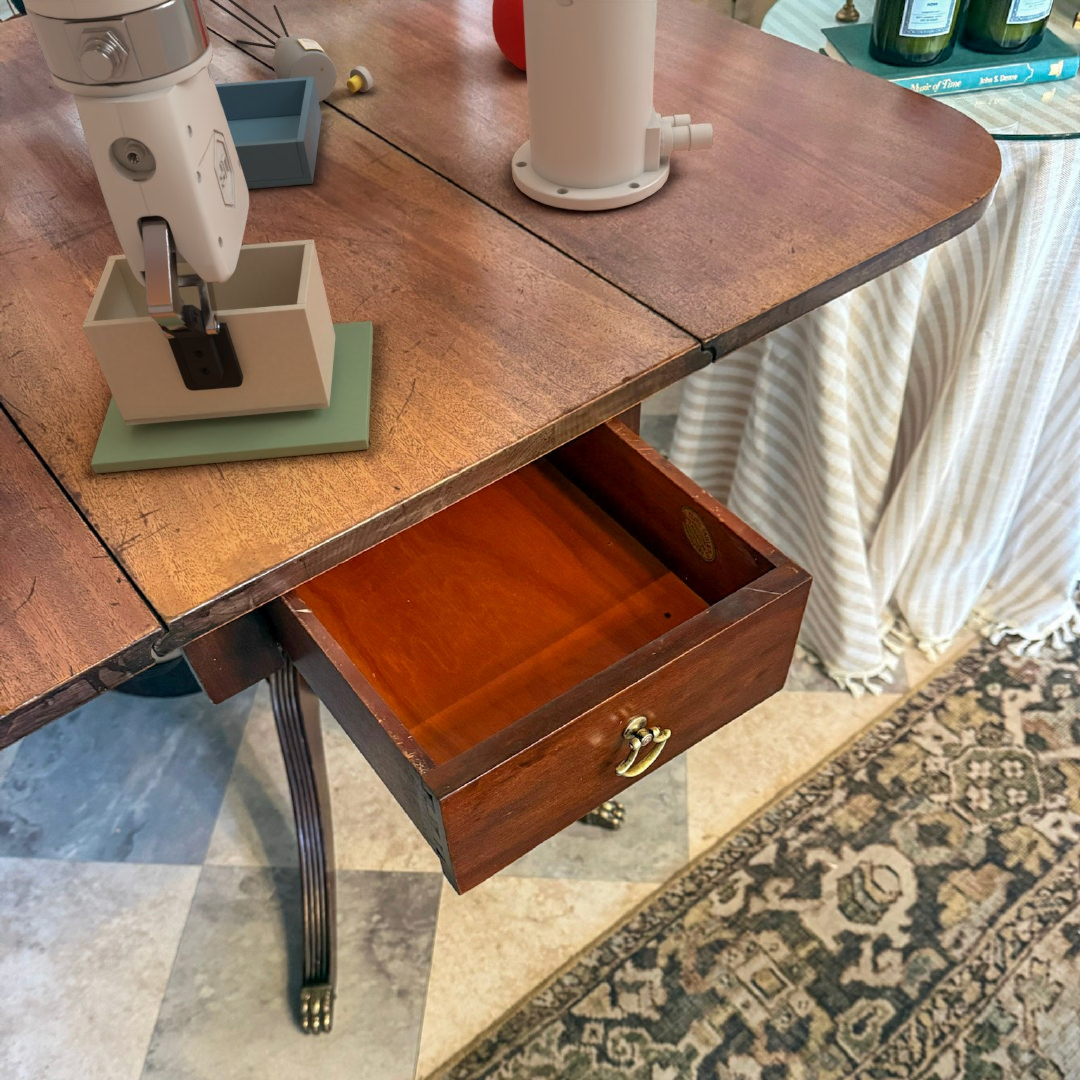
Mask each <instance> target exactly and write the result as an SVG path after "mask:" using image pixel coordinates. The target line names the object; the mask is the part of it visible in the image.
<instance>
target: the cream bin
mask: <svg viewBox="0 0 1080 1080" xmlns="http://www.w3.org/2000/svg"><path fill="white" fill-rule="evenodd" d="M316 248H317V247H316V243H315V240H314V239H302V240H289V241H288V240H287V241H276V242H264V243H251V244H242V245H241V249H240V253H239V258H238V261H237V265H236V268H235V271H234V273H233V274H232V276H231V277H230V278H229V280H227V281H226V282H224V283H219V282H218V281H214V282H212V283H213V289H214V295H215V301H216V306H217V312H218V318H219V323H227V326H228V330H229V333H230V336H231V339H232V342H233V345H234V349H235V352H236V355H237V358H238V361H239V364H240V368H241V371H242V374H243V382H242V385H241V386H239V387H234V388H222V389H210V390H198V391H191V390H189V389H187V388H186V386H185V384H184V381H183V379H182V376H181V373H180V371H179V368H178V365H177V363H176V360H175V357H174V355H173V352H172V349H171V347H170V344H169V341H168V339H166V338H165V336H164V334H163V331H162V329H161V327H160V325H158V323H157V322H156V321H155V320H154V319H153V318H152V317H151V316H150V314H149V311H148V307H147V294H146V287H145V286H143V285H142V284H140V283H139V282H138V281H137V279H136V278H135V276H134V274H133V272H132V270H131V268H130V266H129V264H128V261H127V259H126V257H125V254H115V255H114V254H112V255H108V258H107V261H106V263H105V265H104V269H103V271H102V274H101V277H100V279H99V282H98V284H97V287H96V290H95V292H94V295H93V297H92V300H91V303H90V306H89V308H88V310H87V313H86V316H85V317H84V321H83V324H82V326H81V327H82V331H83V332H84V334H85V336H86V339H87V342H88V343H89V345H90V347H91V350H92V352H93V354H94V356H95V359H96V361H97V363H98V365H99V368H100V370H101V372H102V374H103V377H104V379H105V381H106V383H107V386H108V388H109V390H110V392H111V396H112V395H113V397H114V399H115V402H116V404H117V406H118V408H119V410H120V413H121V415H122V417H123V419H124V422H125V424H126V425H137V424H148V423H160V422H172V421H183V420H195V419H207V418H218V417H230V416H242V415H253V414H265V413H277V412H288V411H300V410H312V409H323V408H329V407H330V395H331V384H332V372H333V360H334V349H335V332H334V328H333V324H334V323H333V320H332V314H331V310H330V306H329V302H328V301H329V300H328V297H327V293H326V288H325V284H324V279H323V275H322V271H321V266H320V261H319V258H318V253H317V249H316ZM177 273H178V275H184V274H197V273H196V272H195V271H194V270H193V268H192V267H191V266H190V265H189V264H188V263H177ZM179 293H180V296H181V298H182V299H183V300H184V304H185V305H194V306H195V307H197V308H198V309H200V310H201V305H200V299H199V294H198V288H197V286H193V287H180V288H179Z"/></svg>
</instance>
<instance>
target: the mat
mask: <svg viewBox="0 0 1080 1080" xmlns="http://www.w3.org/2000/svg"><path fill="white" fill-rule="evenodd" d="M333 328H334V332H335V349H334V360H333V372H332V384H331V395H330V407H329V408H323V409H312V410H300V411H288V412H277V413H265V414H253V415H242V416H230V417H218V418H207V419H195V420H183V421H172V422H160V423H148V424H137V425H126V424H125V422H124V419H123V417H122V415H121V413H120V410H119V408H118V406H117V404H116V402H115V399H114V397H113V395H112V394H111V398H110V402H109V404H108V407H107V410H106V415H105V417H104V419H103V420H104V421H103V424H102V426H101V430H100V433H99V436H98V439H97V442H96V445H95V449H94V452H93V455H92V459H91V461H90V466H91V468H92V470H93V472H94V473H95V474H105V473H115V472H116V473H117V472H127V471H129V472H130V471H139V470H140V471H141V470H150V469H161V468H172V467H173V468H174V467H184V466H185V467H186V466H195V465H206V464H217V463H229V462H230V463H231V462H241V461H251V460H253V461H254V460H264V459H274V458H286V457H287V458H288V457H295V456H296V457H297V456H298V457H299V456H308V455H320V454H329V453H330V454H331V453H343V452H354V451H365V450H369V444H370V443H369V441H370V416H371V395H372V392H371V391H372V370H373V369H372V367H373V347H374V346H373V345H374V327H373V322H372V320H364V321H363V320H362V321H354V322H353V321H352V322H341V323H333Z"/></svg>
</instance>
